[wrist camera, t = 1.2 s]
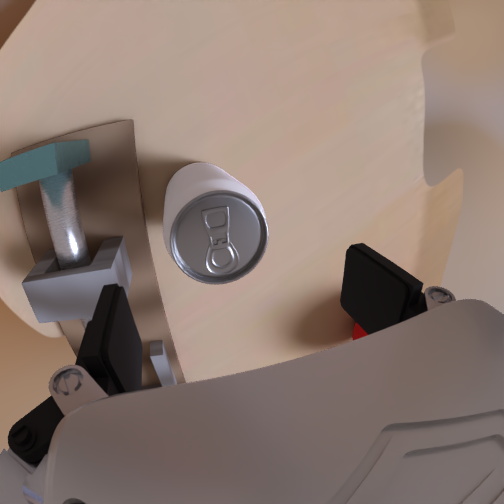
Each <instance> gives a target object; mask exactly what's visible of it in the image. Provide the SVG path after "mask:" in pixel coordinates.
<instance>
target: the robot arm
mask: <svg viewBox="0 0 504 504" xmlns="http://www.w3.org/2000/svg"><path fill="white" fill-rule="evenodd" d="M422 287H423V283H422V282H421V281H419V280H418V279H416V278H415V277H414V276H412V275H411V274H409V273H408V272H406V271H405V270H403V269H402V268H400V267H399V266H397V265H396V264H394V263H393V262H391V261H390V260H388V259H387V258H385V257H384V256H382V255H381V254H379V253H378V252H376V251H375V250H373V249H371V248H370V247H368V246H367V245H365V244H363V243H359V244H354V245H351V246H350V247H349V249H347V251H346V259H345V268H344V276H343V284H342V292H341V299H340V302H341V306H342V307H343V309H344V310H345V311H346V312H347V313H348V314H349V315H350V316H351V317H352V318H353V319H354V320H355V321H356V322H357V323H358V325H359V326H360V327H361V328H362V329H363V330H364V331H365V332H366V333H367V334H368V335H367V336H365V337H362V338H359V339H356V340H353V341H351V342H348V343H345V344H342V345H339V346H336V347H333V348H330V349H327V350H324V351H320V352H317V353H314V354H310V355H307V356H304V357H300V358H297V359H293V360H290V361H286V362H282V363H278V364H274V365H271V366H267V367H262V368H258V369H254V370H250V371H245V372H241V373H236V374H232V375H227V376H222V377H217V378H212V379H207V380H201V381H195V382H189V383H183V384H177V385H170V386H164V387H158V388H151V389H145V390H142V352H143V347H142V341H141V338H140V335H139V333H138V330H137V327H136V324H135V321H134V318H133V315H132V312H131V309H130V306H129V302H128V299H127V296H126V292H125V289H124V287H123V286H120V287H119V285H118V283H115V284H109V285H104V286H103V288H102V291H101V293H100V296H99V299H98V302H97V305H96V308H95V311H94V314H93V317H92V320H90V321H88V323H87V326H86V329H85V332H84V336H83V339H82V342H81V346H80V349H79V352H78V356H77V360H76V363H75V365H68V366H64V367H62V368H60V369H59V370H57V371H56V372H55V373H54V374H53V376H52V377H51V379H50V381H49V391H50V393H51V395H52V396H50V397H49V398H48V399H46V400H45V401H44V402H43V403H41V404H40V405H39V406H37V407H36V408H35V409H33V410H32V411H31V412H30V413H28V414H27V415H25V416H24V417H23V418H21V419H20V420H19V421H18V422H16V423H15V424H14V425H13V426H12V428H11V429H10V431H9V435H8V444H9V447H10V448H9V449H8V451H6V450H5V449H3V451H2V452H1V454H0V504H504V314H502V313H501V312H499V311H498V310H496V309H495V308H494V307H492V306H491V305H489V304H488V303H486V302H484V301H481V300H476V299H463V300H458V301H456V299H455V296H454V295H453V294H452V293H451V292H450V291H449V290H447V289H445V288H442V287H438V286H432V287H428V288H426V290H425V292H424V294H423V293H422V292H421V290H422Z"/></svg>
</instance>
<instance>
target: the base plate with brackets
mask: <svg viewBox="0 0 504 504" xmlns="http://www.w3.org/2000/svg"><path fill="white" fill-rule="evenodd" d="M86 139H89V148H90V157H91V161H90V162H88V163H85V164H82V165H80V166H77V167H74V168H72V174H73V181H74V187H75V193H76V198H77V203H78V208H79V213H80V218H81V222H82V227H83V231H84V235H85V239H86V243H87V247H88V251H89V254H90V258H91V262H92V263H91V265H90V266H86V267H80V268H74V269H68V270H62V271H61V268H60V265H59V262H58V259H57V256H56V252H55V249H54V245H53V242H52V238H51V234H50V231H49V227H48V223H47V218H46V214H45V210H44V205H43V200H42V195H41V190H40V184H39V180H36V181H33V182H30V183H26V184H23V185H20V186H17V187H16V190H17V195H18V200H19V205H20V210H21V214H22V218H23V222H24V226H25V230H26V234H27V237H28V241H29V244H30V248H31V251H32V254H33V257H34V260H35V263H36V265H35V267H34V268H33V269H32V270H31V272H30V273H29V274H28V275H27V277H26V278H25V279H24V280H23V282H22V286H23V288H24V290H25V293H26V295H27V298H28V300H29V302H30V305H31V307H32V309H33V311H34V313H35V316H36V318H37V320H38V322H39V323H46V322H56V321H59V323H60V325H61V328H62V330H63V332H64V334H65V336H66V338H67V340H68V342H69V344H70V345H71V347H72V349H73V351H74V353H75V355H76V356H78V352H79V349H80V346H81V342H82V339H83V336H84V332H85V330H84V328H83V325H82V323H81V321H80V319H83V318H92V317H93V314H94V311H95V308H96V305H97V302H98V299H99V296H100V293H101V291H102V288H103V286H104V285H109V284H115V283H118V285H119V287H120V286H123V287H124V289H125V292H126V296H127V299H128V302H129V306H130V309H131V312H132V315H133V318H134V321H135V324H136V327H137V330H138V333H139V335H140V338H141V341H142V347H143V352H142V390H145V389H151V388H158V387H164V386H170V385H177V384H183V383H186V382H185V379H184V376H183V373H182V369H181V366H180V363H179V360H178V357H177V353H176V350H175V347H174V343H173V340H172V336H171V333H170V329H169V326H168V322H167V318H166V314H165V311H164V307H163V303H162V299H161V295H160V290H159V286H158V282H157V277H156V273H155V268H154V264H153V259H152V254H151V249H150V244H149V239H148V233H147V228H146V222H145V216H144V210H143V203H142V196H141V189H140V182H139V174H138V166H137V157H136V147H135V136H134V123H133V120H132V119H131V120H125V121H120V122H115V123H111V124H106V125H101V126H97V127H93V128H89V129H85V130H81V131H77V132H73V133H70V134H66V135H63V136H59V137H56V138H53V139H50V140H47V141H43V142H40V143H38V144H35V145H32V146H29V147H26V148H23V149H21V150H18V151H15V152H13V153H11V156H12V157H14V156H17V155H20V154H22V153H25V152H28V151H31V150H33V149H36V148H39V147H42V146H46V145H49V144H52V143H57V142H66V141H75V140H86Z"/></svg>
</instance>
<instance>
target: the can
mask: <svg viewBox="0 0 504 504" xmlns="http://www.w3.org/2000/svg"><path fill="white" fill-rule="evenodd" d="M163 237H164V242H165V245H166V248H167V251H168V253H169V254H170V256H171V258H172V259H173V260H174V261H175V263H176V264H177V265H178V267H179V268H180V269H181V270H182V271H183V272H184V273H185V274H186V275H188V276H189V277H191V278H192V279H194V280H196V281H199V282H202V283H206V284H225V283H230V282H233V281H236V280H238V279H240V278H242V277H244V276H245V275H247V274H248V273H249V272H251V271H252V270H253V269H254V268H255V267H256V266H257V264H258V263H259V262H260V260H261V259H262V257H263V255H264V253H265V250H266V247H267V243H268V225H267V221H266V216H265V212H264V209H263V207H262V205H261V203H260V201H259V200H258V198H257V197H256V196H255V194H254V193H253V192H252V191H251V190H250V189H248V188H247V187H246V186H245V185H243V184H242V183H241V182H239V181H238V180H237V179H235V178H234V177H232V176H231V175H229V174H228V173H226V172H225V171H223V170H222V169H220V168H219V167H217V166H215V165H212V164H209V163H203V162H199V163H192V164H189V165H186V166H184V167H183V168H181V169H180V170H178V171H177V172H176V173H175V174H174V175H173V177H172V178H171V180H170V181H169V183H168V186H167V189H166V195H165V203H164V215H163Z"/></svg>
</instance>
